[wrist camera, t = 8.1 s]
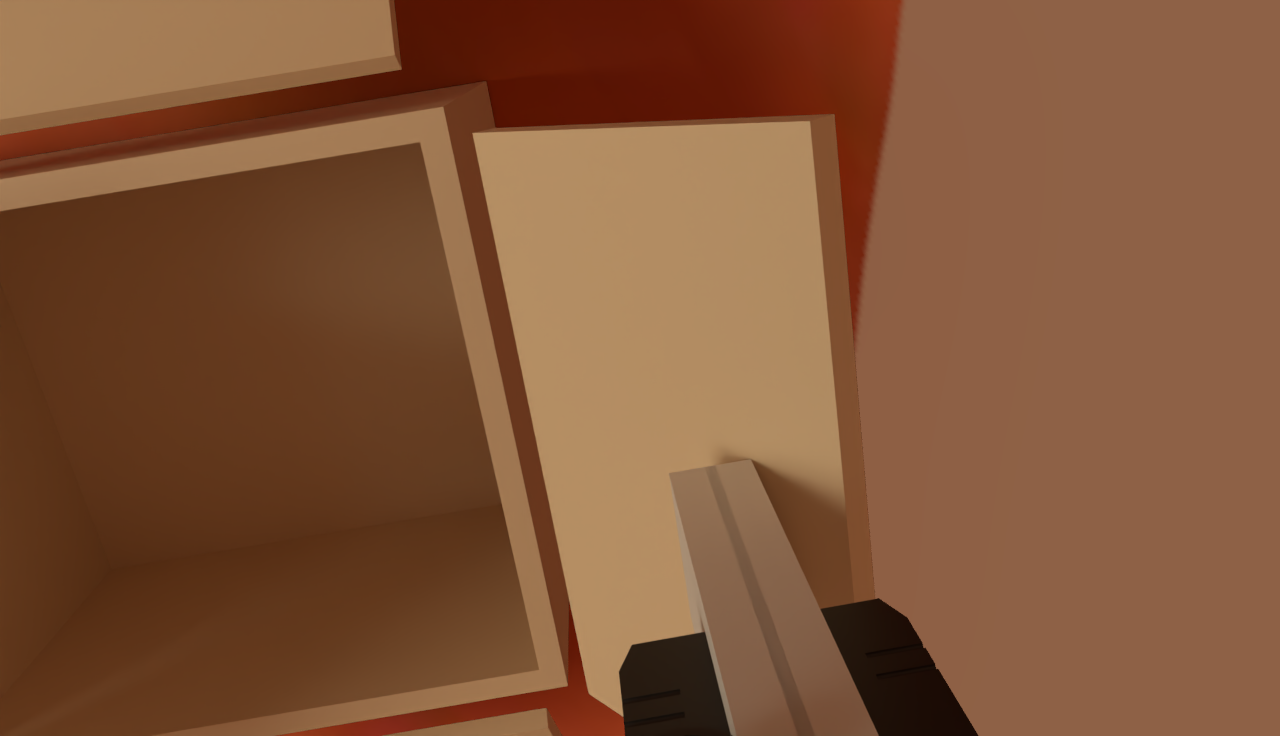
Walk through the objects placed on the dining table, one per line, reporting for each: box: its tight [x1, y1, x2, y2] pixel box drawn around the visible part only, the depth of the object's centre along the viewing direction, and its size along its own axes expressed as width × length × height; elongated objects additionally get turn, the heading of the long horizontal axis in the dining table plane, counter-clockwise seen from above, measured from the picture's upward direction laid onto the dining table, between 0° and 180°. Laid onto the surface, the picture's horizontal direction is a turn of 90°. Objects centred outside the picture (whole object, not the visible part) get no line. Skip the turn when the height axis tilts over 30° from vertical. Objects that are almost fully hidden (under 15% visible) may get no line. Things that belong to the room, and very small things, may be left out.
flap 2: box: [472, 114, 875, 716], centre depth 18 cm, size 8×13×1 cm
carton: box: [0, 81, 569, 736], centre depth 26 cm, size 16×14×10 cm
